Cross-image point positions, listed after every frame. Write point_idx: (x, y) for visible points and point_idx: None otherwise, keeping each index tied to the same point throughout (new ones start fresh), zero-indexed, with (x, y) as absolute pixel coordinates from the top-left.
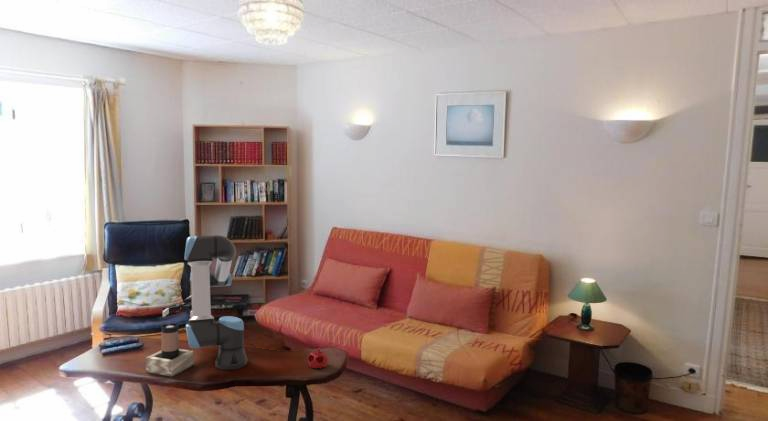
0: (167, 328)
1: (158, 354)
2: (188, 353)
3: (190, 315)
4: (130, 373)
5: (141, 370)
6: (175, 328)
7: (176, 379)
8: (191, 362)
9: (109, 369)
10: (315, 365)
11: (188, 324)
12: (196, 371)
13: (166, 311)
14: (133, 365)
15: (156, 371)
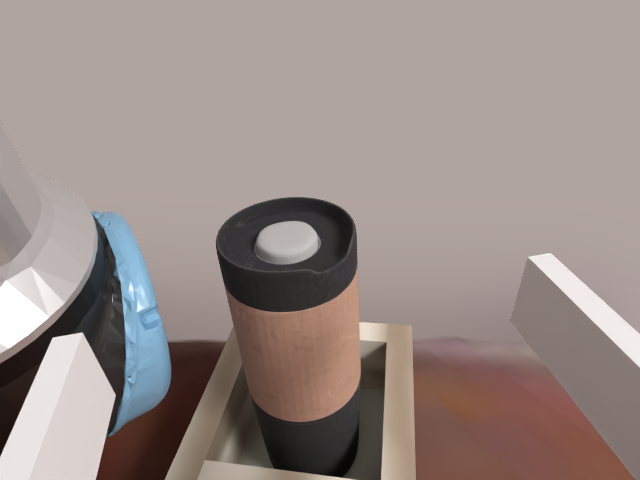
0: (275, 200)
1: (385, 386)
2: (187, 432)
3: (101, 378)
4: (463, 351)
5: (444, 389)
6: (226, 232)
7: (220, 349)
8: None
9: None
10: None
11: (100, 217)
12: (146, 445)
13: (595, 358)
14: (550, 433)
15: None
